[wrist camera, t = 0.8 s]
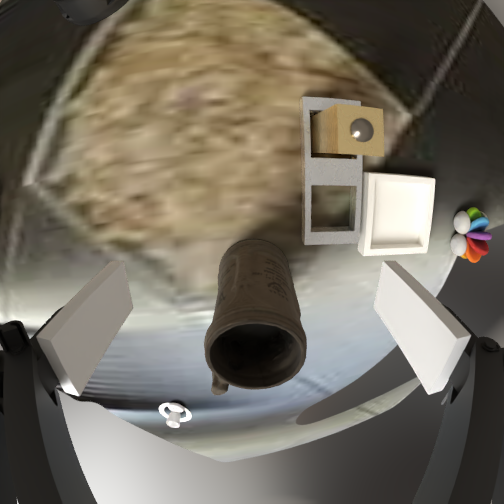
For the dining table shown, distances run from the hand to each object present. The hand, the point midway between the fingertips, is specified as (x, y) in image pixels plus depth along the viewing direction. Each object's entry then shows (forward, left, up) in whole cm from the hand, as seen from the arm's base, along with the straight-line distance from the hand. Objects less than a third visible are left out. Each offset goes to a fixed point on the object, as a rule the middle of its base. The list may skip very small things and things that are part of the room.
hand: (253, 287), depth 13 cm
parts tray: (+2, +22, -26) cm, 34 cm away
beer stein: (+13, -1, -26) cm, 29 cm away
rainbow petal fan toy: (+5, +39, -26) cm, 47 cm away
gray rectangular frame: (-4, +11, -26) cm, 28 cm away
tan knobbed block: (-9, +11, -26) cm, 30 cm away
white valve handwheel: (+47, -17, -27) cm, 57 cm away
